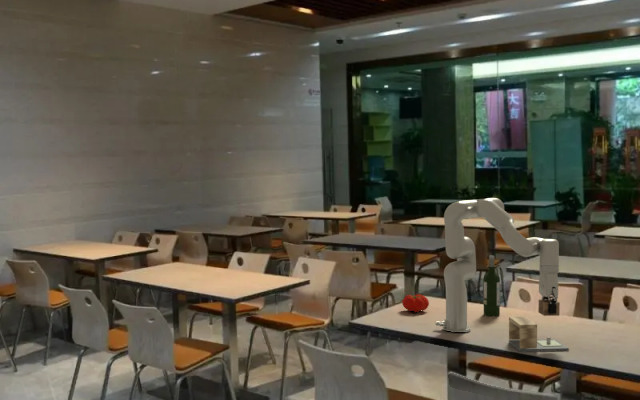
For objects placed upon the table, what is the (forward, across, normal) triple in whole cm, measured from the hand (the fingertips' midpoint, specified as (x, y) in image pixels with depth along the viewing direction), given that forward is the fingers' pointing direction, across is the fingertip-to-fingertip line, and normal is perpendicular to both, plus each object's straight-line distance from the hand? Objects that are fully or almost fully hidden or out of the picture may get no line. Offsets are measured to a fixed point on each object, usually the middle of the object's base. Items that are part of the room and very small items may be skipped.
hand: (549, 311), depth 278 cm
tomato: (+15, -69, -44) cm, 83 cm away
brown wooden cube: (+1, 0, 0) cm, 1 cm away
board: (+15, 0, -5) cm, 15 cm away
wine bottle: (+15, -59, -7) cm, 61 cm away
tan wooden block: (+13, 0, -11) cm, 17 cm away
